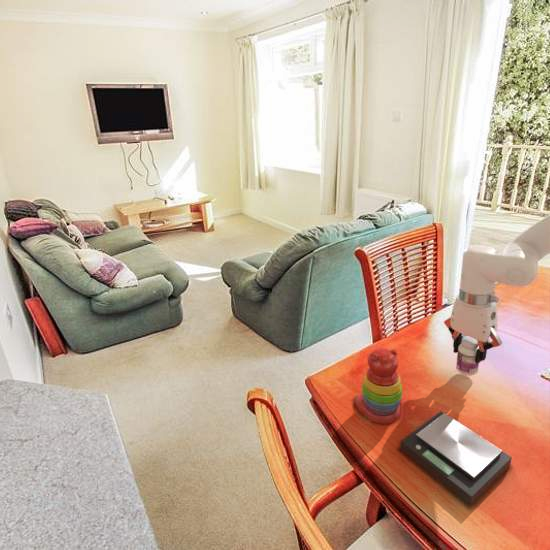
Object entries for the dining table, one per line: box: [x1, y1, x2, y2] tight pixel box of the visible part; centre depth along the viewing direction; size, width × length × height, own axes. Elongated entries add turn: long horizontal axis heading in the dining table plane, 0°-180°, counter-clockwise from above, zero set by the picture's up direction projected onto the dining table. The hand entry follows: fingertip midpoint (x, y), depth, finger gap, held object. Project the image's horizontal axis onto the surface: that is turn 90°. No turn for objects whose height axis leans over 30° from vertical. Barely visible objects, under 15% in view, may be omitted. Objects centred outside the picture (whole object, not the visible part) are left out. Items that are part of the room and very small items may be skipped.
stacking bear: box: [354, 347, 403, 425], centre depth 90 cm, size 11×10×18 cm
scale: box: [399, 410, 513, 508], centre depth 79 cm, size 16×14×3 cm
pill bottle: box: [455, 335, 480, 377], centre depth 99 cm, size 5×5×10 cm
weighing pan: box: [416, 412, 503, 480], centre depth 78 cm, size 13×10×1 cm
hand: (468, 355), depth 99 cm, fingers closed on pill bottle, 5 cm apart
